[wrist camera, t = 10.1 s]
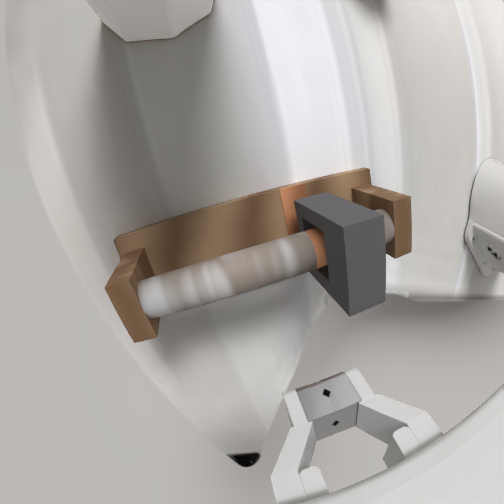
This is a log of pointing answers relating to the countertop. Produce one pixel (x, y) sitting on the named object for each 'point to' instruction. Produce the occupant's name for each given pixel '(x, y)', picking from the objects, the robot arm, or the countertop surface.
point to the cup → (150, 16)
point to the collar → (347, 249)
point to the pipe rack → (236, 248)
